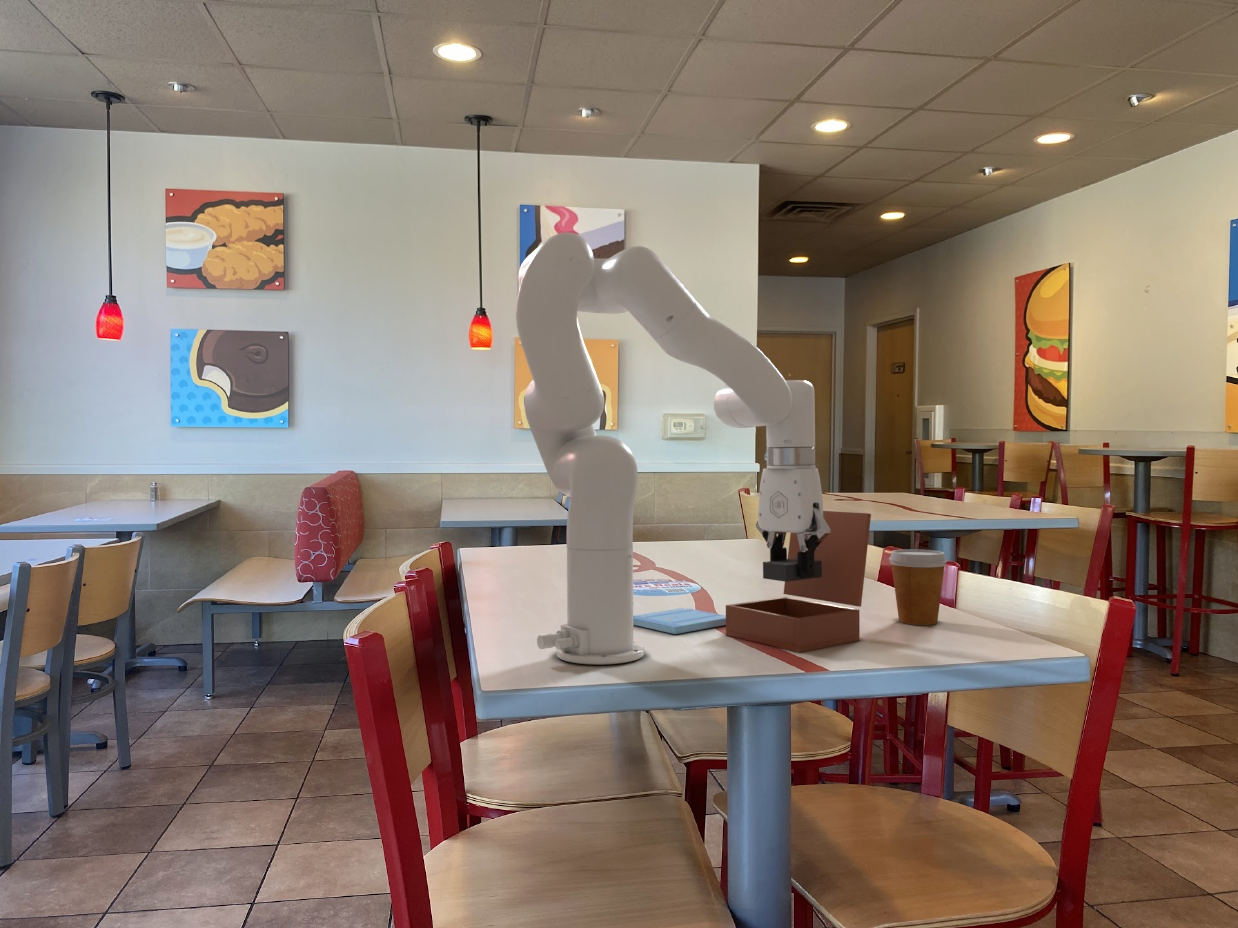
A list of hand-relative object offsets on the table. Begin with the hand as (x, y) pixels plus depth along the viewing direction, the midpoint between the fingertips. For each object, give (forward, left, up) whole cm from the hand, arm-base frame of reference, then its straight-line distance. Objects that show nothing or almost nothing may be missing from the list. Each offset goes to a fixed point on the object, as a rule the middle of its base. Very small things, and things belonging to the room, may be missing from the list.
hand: (792, 573), depth 136 cm
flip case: (0, 0, -10) cm, 10 cm away
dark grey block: (0, 0, -1) cm, 1 cm away
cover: (+8, 0, +2) cm, 8 cm away
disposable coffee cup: (+27, -4, -10) cm, 29 cm away
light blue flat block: (-7, +19, -10) cm, 23 cm away
